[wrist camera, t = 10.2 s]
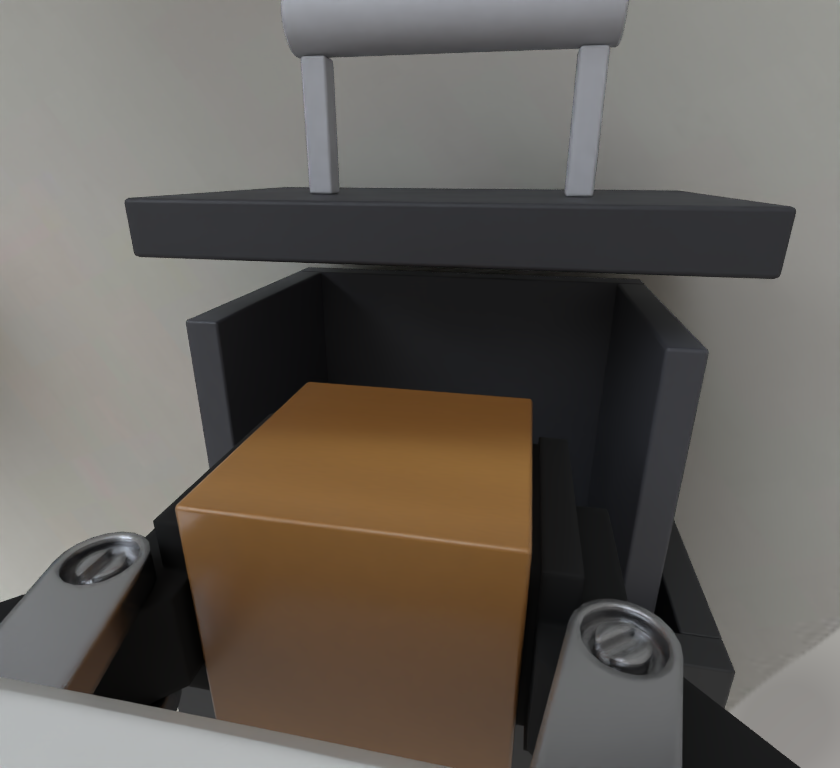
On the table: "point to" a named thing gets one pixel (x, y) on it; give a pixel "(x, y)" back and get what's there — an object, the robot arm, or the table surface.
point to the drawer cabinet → (674, 605)
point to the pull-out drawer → (471, 292)
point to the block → (370, 571)
